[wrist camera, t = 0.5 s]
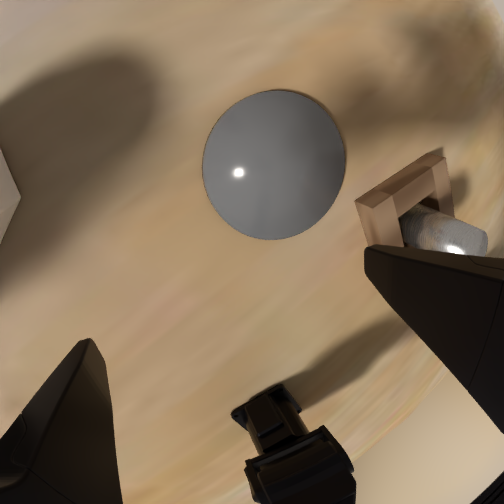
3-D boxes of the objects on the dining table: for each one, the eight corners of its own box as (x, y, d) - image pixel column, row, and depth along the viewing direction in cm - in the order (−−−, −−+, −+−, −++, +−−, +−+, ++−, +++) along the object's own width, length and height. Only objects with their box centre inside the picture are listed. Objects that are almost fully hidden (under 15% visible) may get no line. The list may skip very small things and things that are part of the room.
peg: (420, 225, 30) (487, 259, 22) (395, 246, 30) (462, 285, 22) (414, 192, 28) (487, 221, 20) (386, 212, 28) (460, 247, 20)
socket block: (441, 234, 32) (457, 241, 30) (379, 284, 31) (394, 295, 29) (426, 153, 27) (445, 157, 25) (354, 200, 26) (372, 208, 24)
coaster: (357, 193, 26) (361, 194, 25) (246, 263, 25) (248, 266, 24) (307, 69, 21) (312, 68, 20) (172, 136, 20) (173, 137, 19)
